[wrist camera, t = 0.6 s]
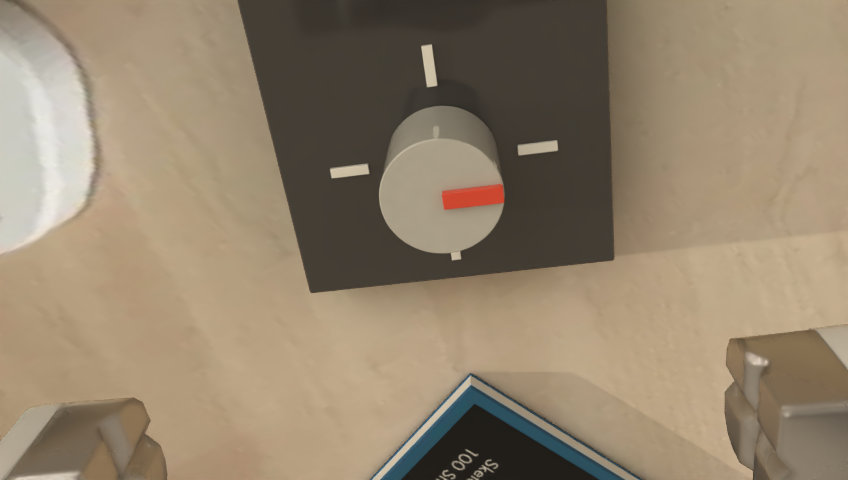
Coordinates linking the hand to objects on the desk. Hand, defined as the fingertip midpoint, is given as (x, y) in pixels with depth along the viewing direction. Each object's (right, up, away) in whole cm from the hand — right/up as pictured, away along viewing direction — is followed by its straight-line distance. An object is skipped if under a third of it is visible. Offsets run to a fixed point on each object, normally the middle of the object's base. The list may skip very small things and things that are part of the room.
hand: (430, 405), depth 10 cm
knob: (+1, +5, +16) cm, 17 cm away
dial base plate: (0, +8, +18) cm, 20 cm away
